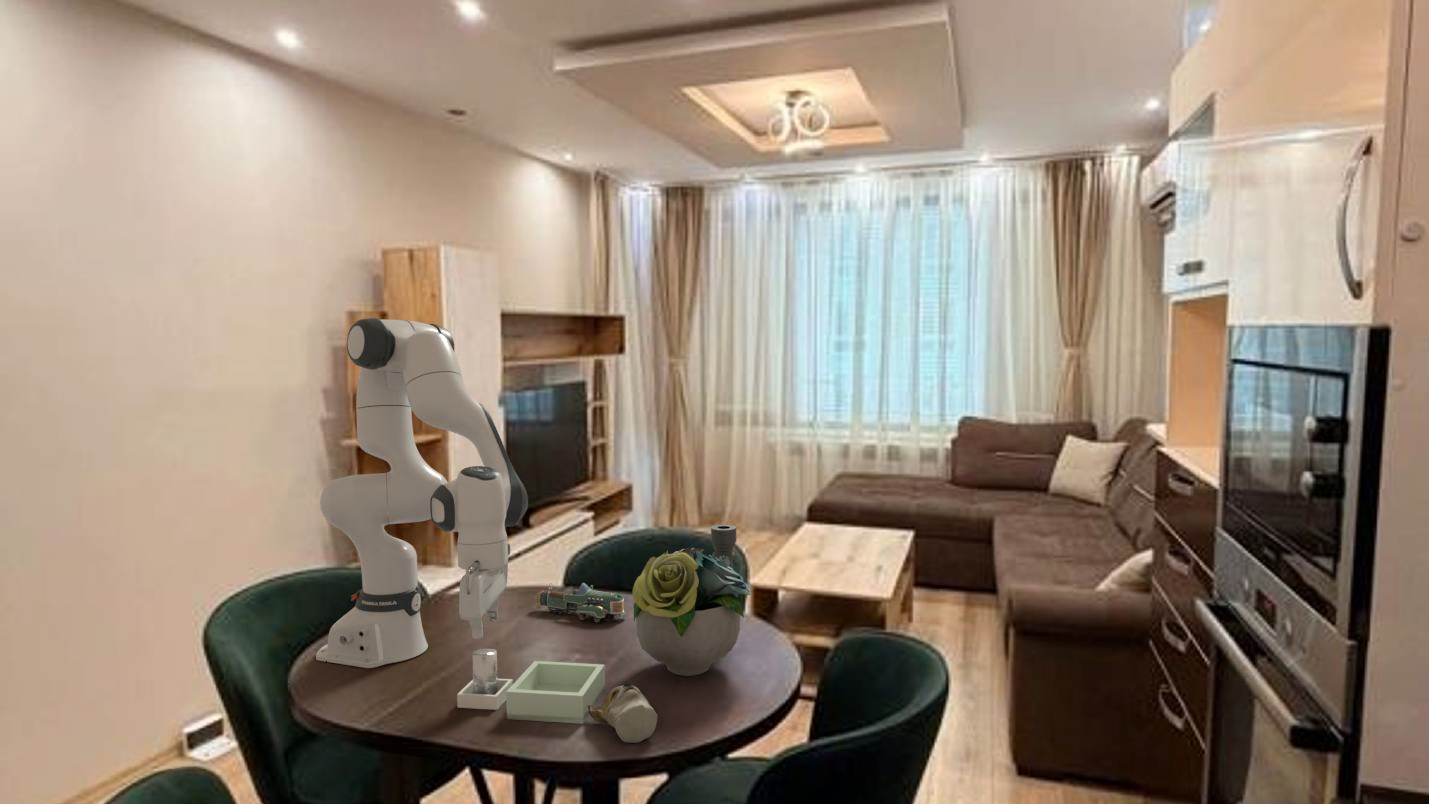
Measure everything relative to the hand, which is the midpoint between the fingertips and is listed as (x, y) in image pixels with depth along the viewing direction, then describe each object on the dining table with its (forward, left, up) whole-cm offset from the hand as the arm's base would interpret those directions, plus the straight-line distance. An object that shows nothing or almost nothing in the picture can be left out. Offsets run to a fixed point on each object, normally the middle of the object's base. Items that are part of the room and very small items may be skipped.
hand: (485, 629), depth 151 cm
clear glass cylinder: (0, 0, -14) cm, 14 cm away
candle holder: (+40, +38, -14) cm, 57 cm away
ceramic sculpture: (+29, -8, -14) cm, 33 cm away
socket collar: (0, 0, -14) cm, 14 cm away
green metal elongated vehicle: (+2, +49, -14) cm, 51 cm away
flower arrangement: (+35, +19, -14) cm, 42 cm away
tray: (+14, 0, -14) cm, 19 cm away
